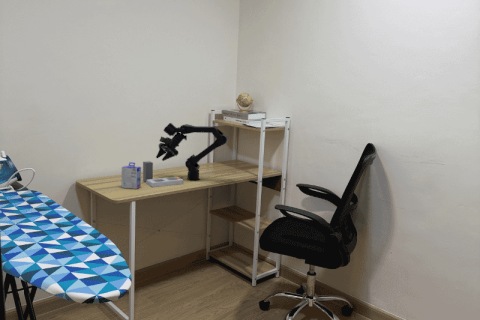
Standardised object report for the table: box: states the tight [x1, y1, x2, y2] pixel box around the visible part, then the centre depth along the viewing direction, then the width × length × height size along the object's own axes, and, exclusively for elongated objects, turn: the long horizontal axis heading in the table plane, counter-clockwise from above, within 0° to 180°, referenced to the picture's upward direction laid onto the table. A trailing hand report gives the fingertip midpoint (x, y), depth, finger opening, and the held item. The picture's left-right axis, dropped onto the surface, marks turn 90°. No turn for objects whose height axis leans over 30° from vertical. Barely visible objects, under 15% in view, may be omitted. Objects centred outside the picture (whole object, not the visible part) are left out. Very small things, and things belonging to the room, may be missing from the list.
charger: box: [142, 160, 154, 183], centre depth 255 cm, size 4×4×12 cm
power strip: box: [146, 176, 184, 188], centre depth 252 cm, size 20×9×3 cm, turn 124°
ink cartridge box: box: [121, 161, 142, 190], centre depth 239 cm, size 10×6×14 cm, turn 78°
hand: (159, 159), depth 258 cm, fingers open, 9 cm apart
